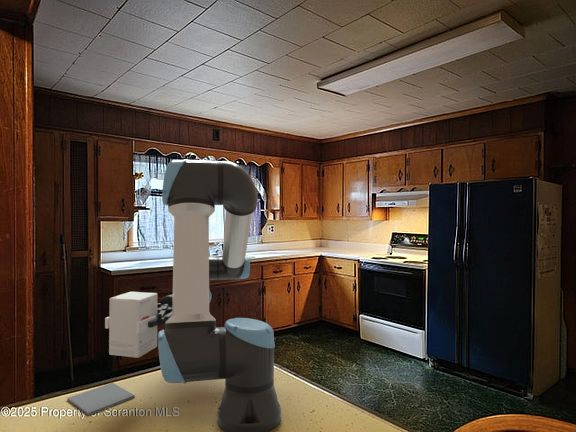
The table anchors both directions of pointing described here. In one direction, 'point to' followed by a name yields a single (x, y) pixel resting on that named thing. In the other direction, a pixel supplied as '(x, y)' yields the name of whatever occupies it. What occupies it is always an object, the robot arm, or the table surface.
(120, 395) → the mat
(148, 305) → the supplement box
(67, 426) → the table surface
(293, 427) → the table surface
